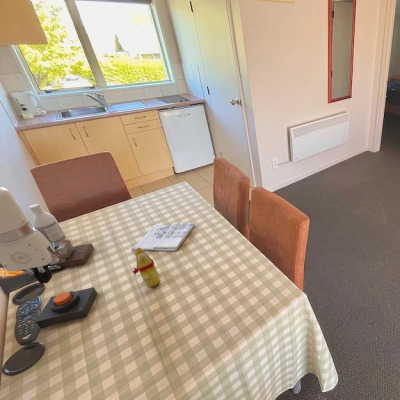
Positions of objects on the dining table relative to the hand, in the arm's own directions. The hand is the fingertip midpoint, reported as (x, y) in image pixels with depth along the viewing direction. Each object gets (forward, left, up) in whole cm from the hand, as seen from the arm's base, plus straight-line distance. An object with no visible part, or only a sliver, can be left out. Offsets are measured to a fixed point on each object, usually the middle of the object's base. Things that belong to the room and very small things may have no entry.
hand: (46, 280), depth 81 cm
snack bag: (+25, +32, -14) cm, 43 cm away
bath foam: (-19, +43, -14) cm, 49 cm away
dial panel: (-9, +29, -14) cm, 33 cm away
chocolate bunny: (+23, +6, -14) cm, 27 cm away
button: (+1, 0, -9) cm, 9 cm away
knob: (-9, +29, -11) cm, 32 cm away
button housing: (+1, 0, -14) cm, 14 cm away
